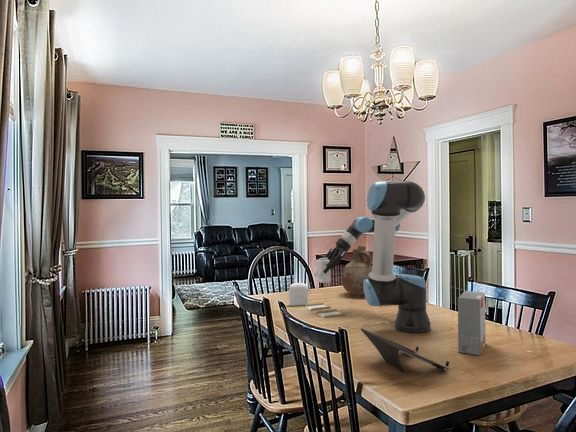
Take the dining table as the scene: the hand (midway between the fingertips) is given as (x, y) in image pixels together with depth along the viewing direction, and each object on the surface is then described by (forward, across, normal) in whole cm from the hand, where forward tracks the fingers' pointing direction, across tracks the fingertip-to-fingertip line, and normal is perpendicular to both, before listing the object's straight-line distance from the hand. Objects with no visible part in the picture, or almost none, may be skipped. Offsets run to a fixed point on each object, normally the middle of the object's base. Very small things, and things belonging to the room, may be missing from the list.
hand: (317, 276), depth 206 cm
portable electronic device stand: (+13, -75, -12) cm, 77 cm away
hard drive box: (-10, -70, -35) cm, 79 cm away
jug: (-14, +30, -43) cm, 54 cm away
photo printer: (+16, +21, -12) cm, 29 cm away
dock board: (+11, -1, -16) cm, 19 cm away
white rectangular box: (-1, 0, -5) cm, 5 cm away
